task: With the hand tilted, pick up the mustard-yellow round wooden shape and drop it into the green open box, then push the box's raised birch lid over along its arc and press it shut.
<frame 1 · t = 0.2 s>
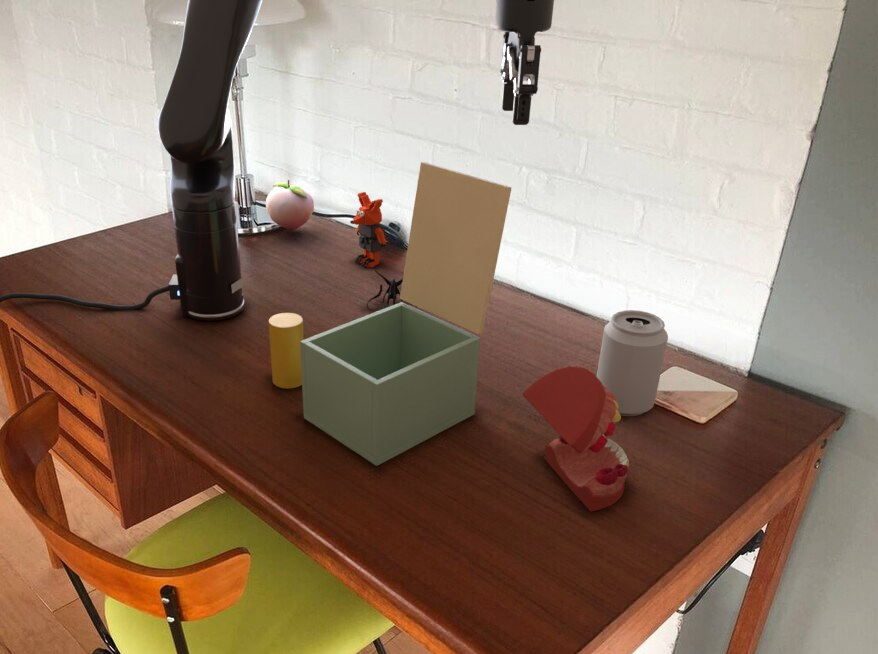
hand: (514, 117, 117), 29 cm above the table, tool pointing down, fingers open, 8 cm apart
decorative fruit: (290, 232, 161), on the table
sorter lid: (451, 247, 99), point 20 cm above the table, hinge at 100.0°
can: (622, 405, 106), on the table
round shape: (287, 350, 109), point 4 cm above the table
creature: (392, 308, 132), on the table
toy animal: (364, 264, 147), on the table
anatomical model: (575, 482, 92), on the table
green open box: (389, 416, 104), on the table
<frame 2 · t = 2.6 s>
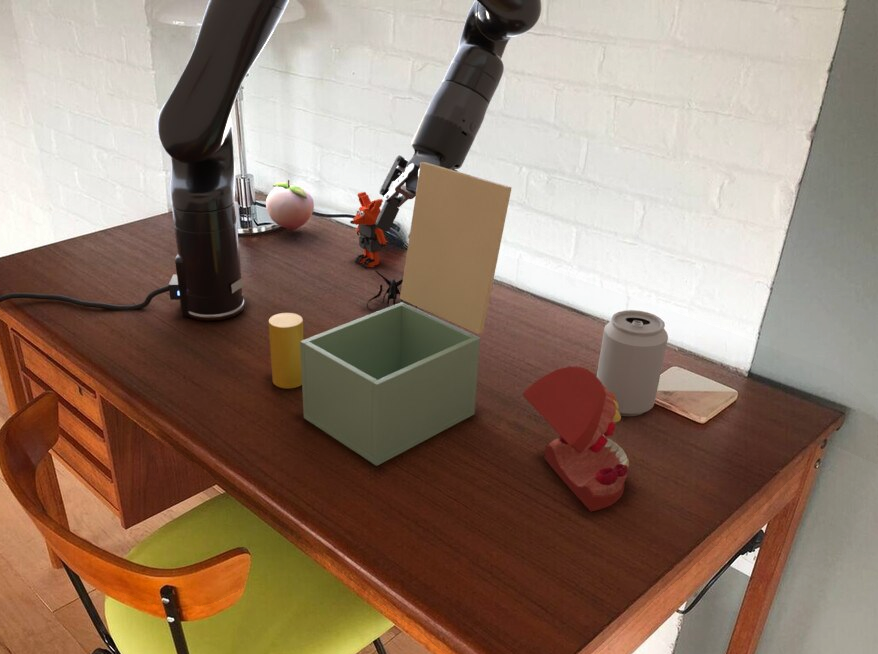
hand: (397, 235, 113), 16 cm above the table, tool tilted 35°, fingers open, 8 cm apart
nothing on the table moved.
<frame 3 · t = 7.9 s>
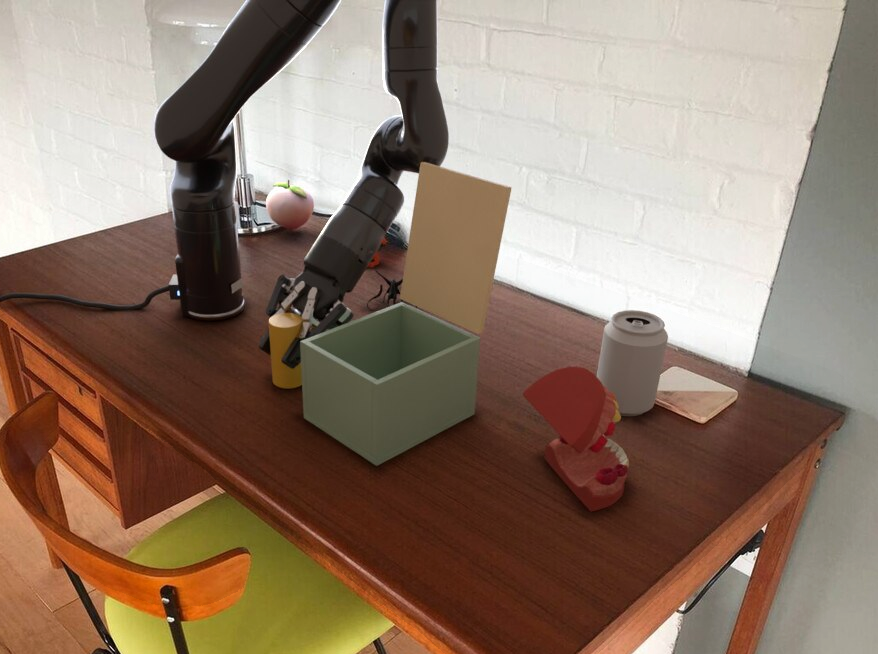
hand: (276, 358, 108), 4 cm above the table, tool tilted 45°, fingers closed on round shape, 4 cm apart
round shape: (287, 350, 109), point 5 cm above the table, touching gripper
everything else where it was.
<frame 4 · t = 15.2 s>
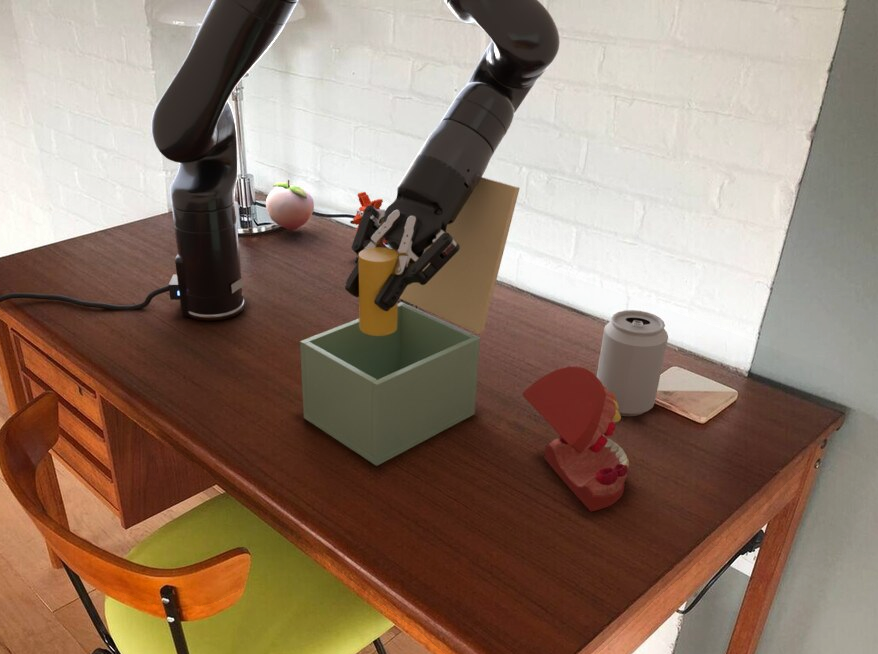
hand: (365, 299, 93), 17 cm above the table, tool tilted 45°, fingers closed on round shape, 4 cm apart
sorter lid: (455, 247, 100), point 20 cm above the table, hinge at 104.8°, touching arm
round shape: (378, 291, 94), point 18 cm above the table, touching gripper
everything else where it was.
when the fingers open (17 cm above the table, at t = 15.4 s): round shape drops 12 cm, resting on green open box.
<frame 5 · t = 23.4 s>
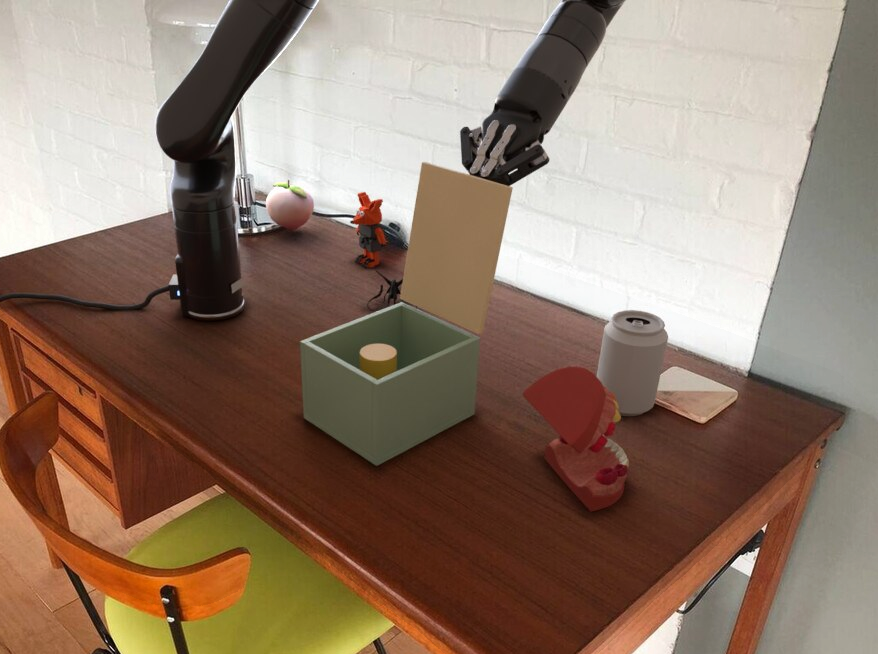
hand: (465, 207, 98), 24 cm above the table, tool tilted 45°, fingers closed
sorter lid: (452, 247, 99), point 20 cm above the table, hinge at 100.6°, touching gripper
round shape: (378, 384, 100), point 5 cm above the table, touching green open box
everything else where it was.
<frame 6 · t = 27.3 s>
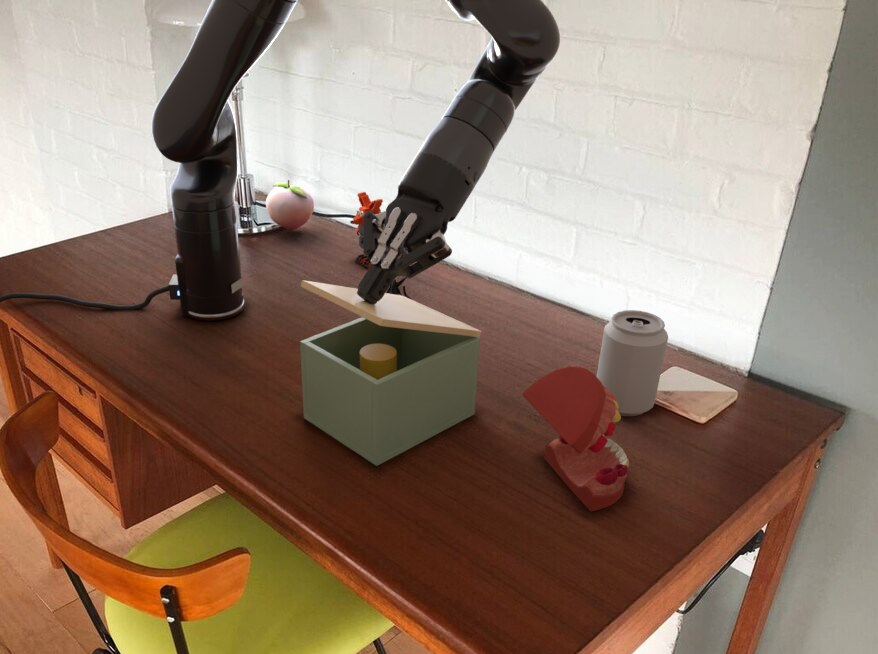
hand: (365, 299, 93), 17 cm above the table, tool tilted 45°, fingers closed
sorter lid: (392, 309, 97), point 15 cm above the table, hinge at 22.9°
everything else where it was.
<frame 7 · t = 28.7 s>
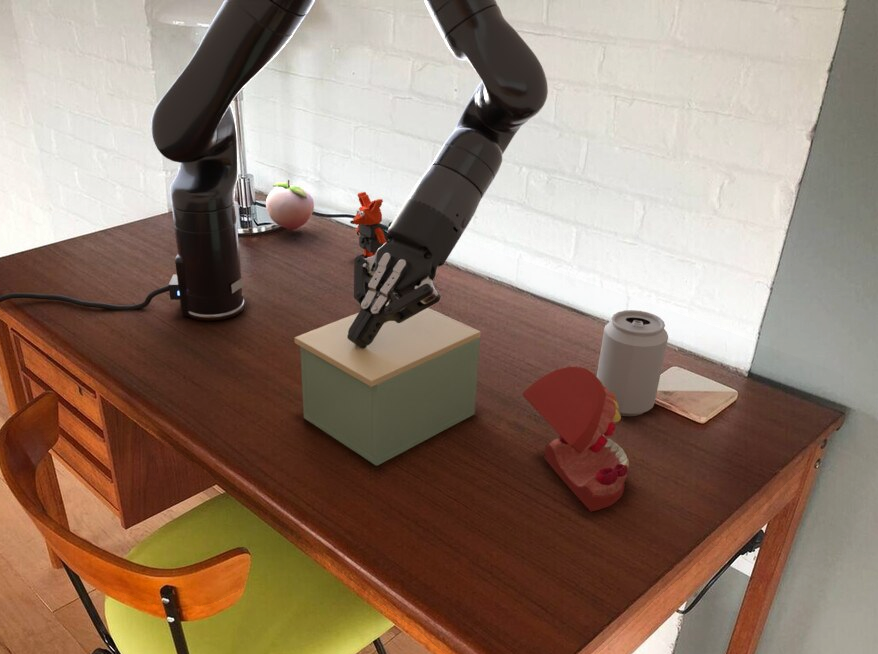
hand: (355, 343, 94), 12 cm above the table, tool tilted 45°, fingers closed
sorter lid: (388, 337, 98), point 11 cm above the table, hinge at -0.2°, touching gripper, green open box
everything else where it was.
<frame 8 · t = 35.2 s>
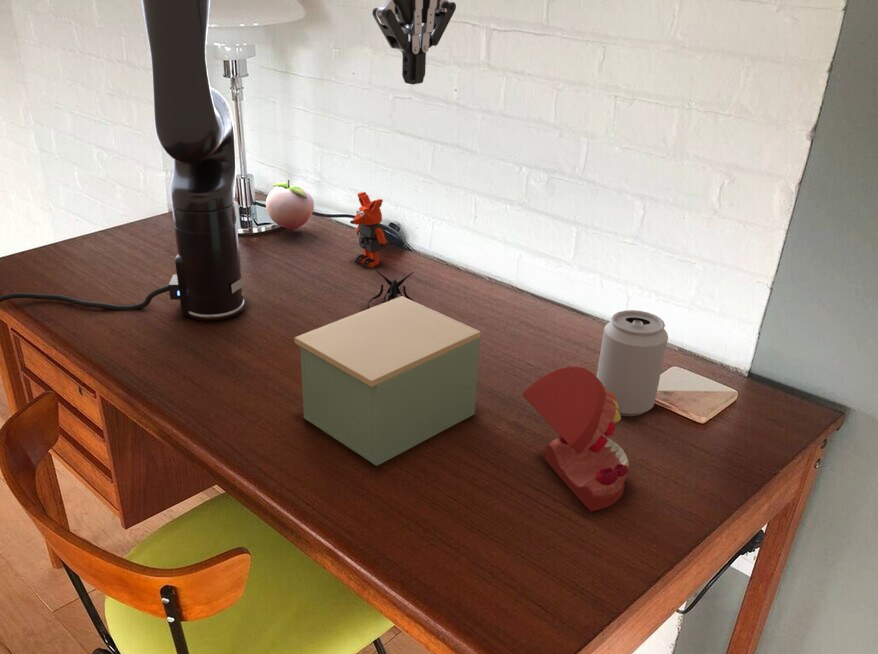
hand: (413, 83, 109), 35 cm above the table, tool pointing down, fingers closed
sorter lid: (388, 337, 98), point 11 cm above the table, hinge at -0.2°, touching green open box
everything else where it was.
at the end: round shape 1.9 cm from the green open box (horizontally); round shape point 5.3 cm above the table; sorter lid at +0° (first picture: +100°) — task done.
